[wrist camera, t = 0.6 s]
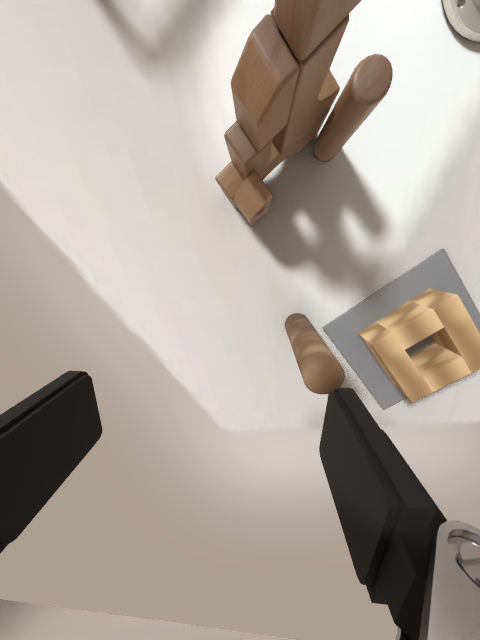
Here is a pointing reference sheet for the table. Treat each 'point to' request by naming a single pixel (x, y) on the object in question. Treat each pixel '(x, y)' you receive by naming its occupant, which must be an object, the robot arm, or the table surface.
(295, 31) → the wooden toy
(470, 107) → the table surface
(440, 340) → the square-hole wood block
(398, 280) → the slate mat
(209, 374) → the table surface
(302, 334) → the walnut dowel
